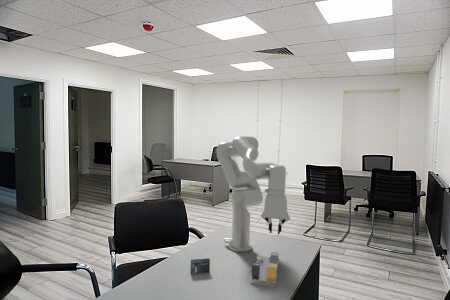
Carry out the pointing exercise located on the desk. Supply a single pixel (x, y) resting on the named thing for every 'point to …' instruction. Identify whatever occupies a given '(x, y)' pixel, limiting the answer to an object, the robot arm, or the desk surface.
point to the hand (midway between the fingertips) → (274, 232)
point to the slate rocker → (274, 258)
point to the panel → (263, 273)
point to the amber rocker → (271, 271)
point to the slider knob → (256, 269)
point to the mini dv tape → (200, 266)
